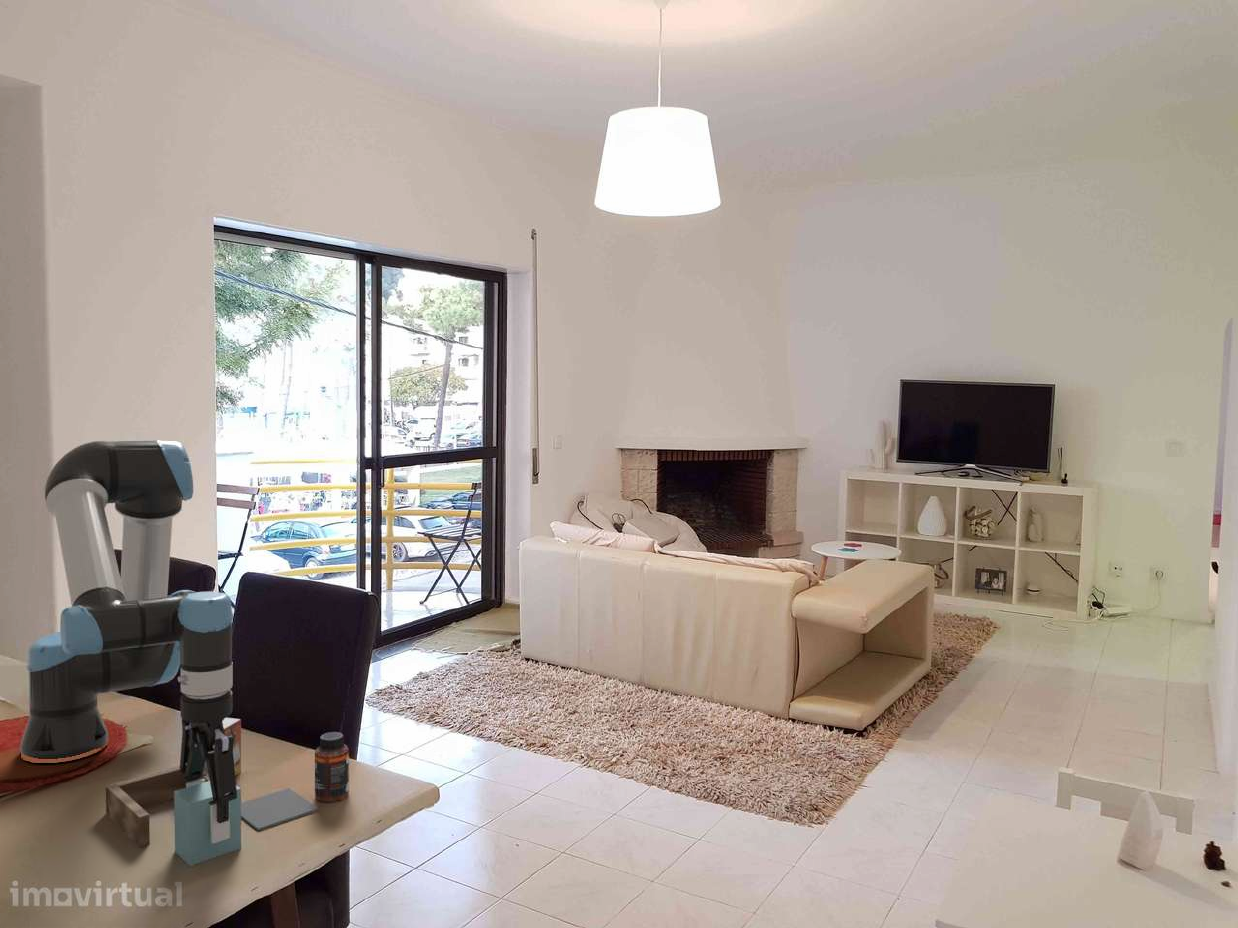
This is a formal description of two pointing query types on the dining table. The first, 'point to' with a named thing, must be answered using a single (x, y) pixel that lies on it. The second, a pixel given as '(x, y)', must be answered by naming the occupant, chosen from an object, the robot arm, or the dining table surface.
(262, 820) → the mat
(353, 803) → the dining table surface
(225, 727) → the small box
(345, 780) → the supplement bottle
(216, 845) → the block
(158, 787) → the frame
